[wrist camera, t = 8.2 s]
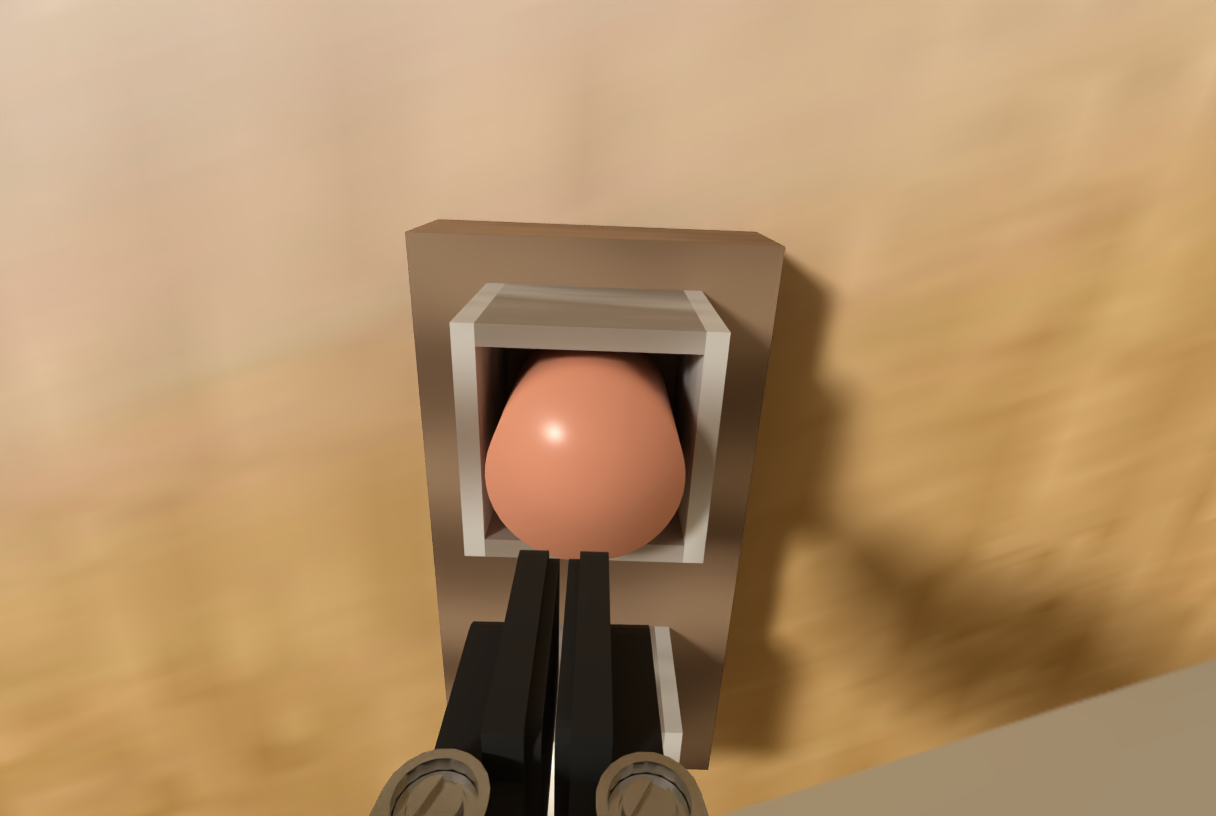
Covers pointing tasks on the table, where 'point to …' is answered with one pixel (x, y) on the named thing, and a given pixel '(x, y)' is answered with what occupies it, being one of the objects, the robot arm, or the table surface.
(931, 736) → the table surface
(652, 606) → the button box
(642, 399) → the plunger salmon pink
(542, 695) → the robot arm
